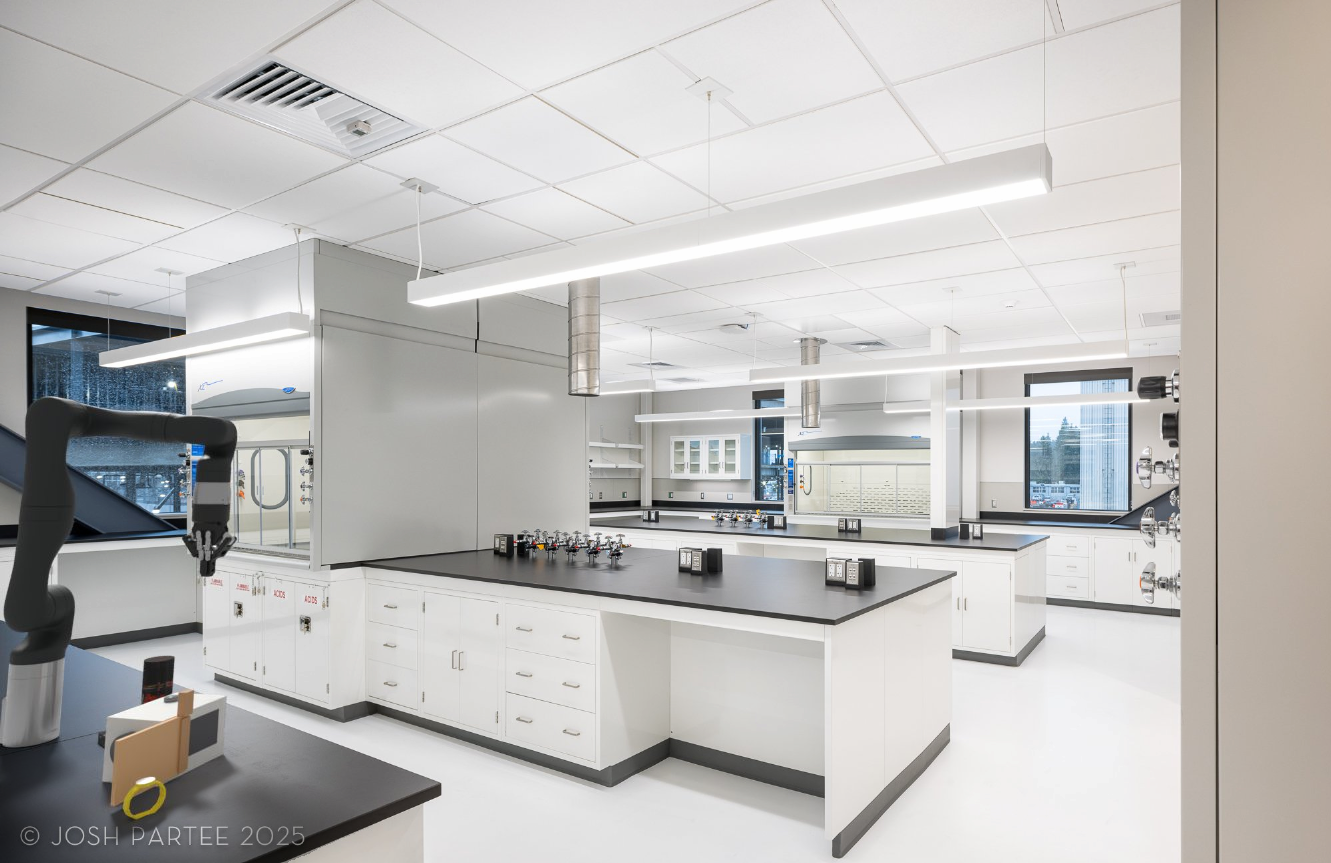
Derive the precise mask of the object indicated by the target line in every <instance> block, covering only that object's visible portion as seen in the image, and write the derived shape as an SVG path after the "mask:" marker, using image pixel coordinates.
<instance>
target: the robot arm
mask: <svg viewBox="0 0 1331 863" xmlns="http://www.w3.org/2000/svg"><path fill="white" fill-rule="evenodd" d="M24 429H25V432H24V434H25V437H24V438H25V464H24V471H23V481H22V493H21V500H20V506H19V515H18V529H17V537H16V544H15V552H14V557H13V558H14V559H13V565H12V570H11V574H10V578H9V583H8V587H7V591H6V595H5V598H4V602H3V618H4V622H5V624H6V625H7V627H8V628H9V629H10V630H12V631H13V632H16V633H22V634H23V633H27V634H26V636H25V637H24V638H23V640H22V641H21V642H20V643H18V644H17V645H16V646H14V647H13V648H12V650H11V651H10V653H9V660H8V663H9V664H8V672H7V673H8V674H7V686H6V696H5V697H3V699H2V702H1V711H0V712H1V714H0V744H2V746H3V747H6V748H22V747H29V746H31V747H32V746H36V745H41V744H44V743H47V742H50V741H52V740H54V739H56V738H58V737H60V729H61V716H62V703H63V702H62V700H63V689H64V678H65V677H64V676H65V675H64V674H65V662H66V661H65V660H66V652H67V648H68V647H69V645H70V643H71V642H72V637H73V628H74V621H75V614H76V602H75V597H74V594H73V592H72V591H71V589H69V588H68V587H67V586H65V585H61V584H49V578H50V571H51V568H52V566H53V562H54V560H55V559H56V557H57V555H58V553H59V551H60V550H61V549H62V547H63V546H64V544H65V543H66V541H67V540H68V538H69V536H70V534H71V532H72V530H73V527H74V522H75V513H76V500H77V499H76V492H75V488H74V484H73V482H72V479H71V476H70V473H69V470H68V465H67V452H68V445H69V443H68V442H69V440H70V439H77V438H79V439H80V438H91V437H92V438H95V437H97V438H98V437H112V438H113V437H114V438H123V439H130V440H137V441H143V442H153V443H154V442H155V443H161V444H162V443H163V444H187V445H188V444H190V445H196V446H202V447H203V446H204V447H203V452H202V457H201V458H199V459H198V461H197V462H196V465H195V466H196V467H195V480H194V481H195V482H194V488H193V492H192V506H191V507H192V509H191V522H192V523H193V525H192V527H191V532H190V533H188V534H187V535H182V536H181V539H182V542H183V543H184V545H185V547H186V548H187V550H188V552H189V553H190V555H191V556H192V558H195V559H198V560H199V574H200V577H202V578H206V577H207V578H210V577H213V576H214V574H215V573H216V567H217V566H216V564H217V563H216V561H217V559H218V560H219V559H220V558H224V557H225V556H226V555H227V554H228V553H229V551H230V550H231V548H232V547H233V545H235V543H236V542H237V540H238V537H237V536H233V535H232V534H230V532H229V531H230V530H229V527H228V523H229V521H230V518H231V517H230V516H231V504H232V502H231V500H232V487H231V484H232V483H231V481H232V462H233V459H234V456H235V451H236V448H237V445H238V444H237V443H238V430H237V427H236V425H235V423H234V422H232V421H231V420H229V419H227V418H223V417H219V416H212V415H198V414H197V415H193V414H191V415H190V414H181V413H176V412H165V411H164V412H161V411H152V410H151V411H150V410H149V411H148V410H118V409H117V410H116V409H108V408H102V407H98V406H94V405H89V404H85V403H81V402H79V401H76V400H75V399H70V398H63V397H57V396H42V397H40V398H38V399H35V401H33V402H32V403H31V404H30V405H29V407H28V409H27V410H26V414H25V420H24Z"/></svg>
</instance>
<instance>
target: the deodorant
mask: <svg viewBox="0 0 1331 863" xmlns="http://www.w3.org/2000/svg"><path fill="white" fill-rule="evenodd" d="M175 658H176V657H175V656H174V655H157V656H152V657H147V658H145V659H144V660H143V666H142V680H141V681H142V683H141V684H142V685H141V699H140V705H142V704H145V703H148V702H151V701H154V700H156V699H159V698H162V697H165V696H168V695H171V694H173V693H174V692H173V691H174V675H175Z"/></svg>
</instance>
